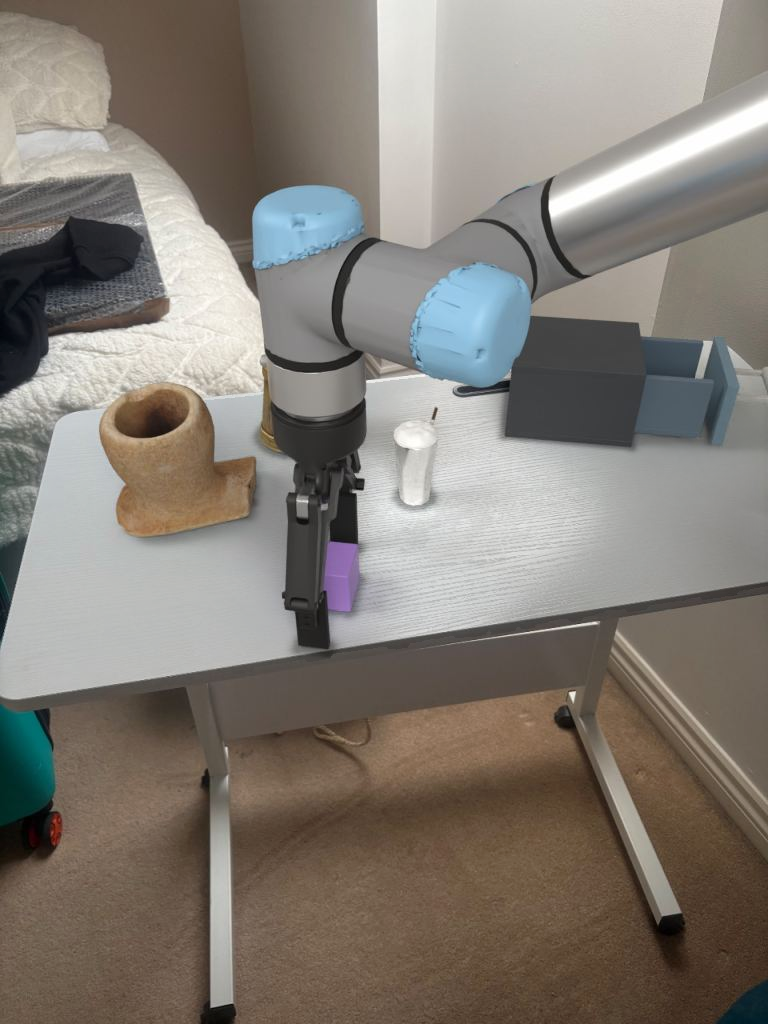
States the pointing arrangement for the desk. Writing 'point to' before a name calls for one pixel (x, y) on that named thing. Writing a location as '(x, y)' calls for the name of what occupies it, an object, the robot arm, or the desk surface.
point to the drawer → (690, 388)
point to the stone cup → (171, 463)
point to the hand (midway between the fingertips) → (330, 591)
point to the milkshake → (415, 459)
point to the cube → (341, 575)
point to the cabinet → (577, 382)
